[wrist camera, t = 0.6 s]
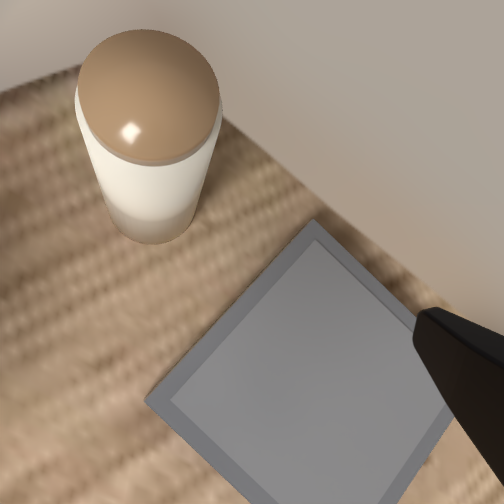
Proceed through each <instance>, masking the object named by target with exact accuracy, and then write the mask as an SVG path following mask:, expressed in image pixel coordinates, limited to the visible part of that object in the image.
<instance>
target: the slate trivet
mask: <svg viewBox="0 0 504 504" xmlns="http://www.w3.org/2000/svg"><path fill="white" fill-rule="evenodd" d="M416 319H417V318H416V317H415V316H414V315H413V314H412V313H411V312H410V311H409V310H408V309H407V308H406V307H405V306H404V305H403V304H402V303H401V302H400V301H399V300H398V299H397V298H396V297H395V296H393V295H392V294H391V293H390V292H389V291H388V290H387V289H386V288H385V287H384V286H383V285H382V284H381V283H380V282H379V281H378V280H377V279H376V278H375V277H374V276H373V275H372V274H371V273H370V272H369V271H367V270H366V269H365V268H364V267H363V266H362V265H361V264H360V263H359V262H358V261H357V260H356V259H355V258H354V257H353V256H352V255H351V254H350V253H349V252H348V251H347V250H346V249H345V248H344V247H343V246H341V245H340V244H339V243H338V242H337V241H336V240H335V239H334V238H333V237H332V236H331V235H330V234H329V233H328V232H327V231H326V230H325V229H324V228H323V227H322V226H321V225H320V224H319V223H318V222H317V221H315V220H314V219H312V220H311V221H309V222H308V223H307V224H306V225H305V226H304V227H303V228H302V229H301V230H300V231H299V232H298V233H297V234H296V236H295V237H294V238H293V239H292V240H291V241H290V242H289V243H288V244H287V245H286V246H285V247H284V248H283V250H282V251H281V252H280V253H279V254H278V255H277V256H276V257H275V258H274V259H273V260H272V261H271V262H270V264H269V265H268V266H267V267H266V268H265V269H264V270H263V271H262V272H261V273H260V274H259V275H258V277H257V278H256V279H255V280H254V281H253V282H252V283H251V284H250V285H249V286H248V287H247V288H246V289H245V291H244V292H243V293H242V294H241V295H240V296H239V297H238V298H237V299H236V300H235V301H234V302H233V303H232V305H231V306H230V307H229V308H228V309H227V310H226V311H225V312H224V313H223V314H222V315H221V316H220V317H219V319H218V320H217V321H216V322H215V323H214V324H213V325H212V326H211V327H210V328H209V329H208V330H207V331H206V333H205V334H204V335H203V336H202V337H201V338H200V339H199V340H198V341H197V342H196V343H195V344H194V345H193V347H192V348H191V349H190V350H189V351H188V352H187V353H186V354H185V355H184V356H183V357H182V358H181V360H180V361H179V362H178V363H177V364H176V365H175V366H174V367H173V368H172V369H171V370H170V371H169V372H168V374H167V375H166V376H165V377H164V378H163V379H162V380H161V381H160V382H159V383H158V384H157V385H156V386H155V388H154V389H153V390H152V391H151V392H150V393H149V394H148V395H147V396H146V397H145V398H144V402H145V403H146V404H147V405H148V406H149V407H150V408H151V409H152V410H153V411H154V412H155V413H156V414H157V415H159V416H160V417H161V418H162V419H163V420H164V421H165V422H166V423H167V424H168V425H169V426H170V427H171V428H172V429H173V430H174V431H175V432H176V433H177V434H178V435H180V436H181V437H182V438H183V439H184V440H185V441H186V442H187V443H188V444H189V445H190V446H191V447H192V448H193V449H194V450H195V451H196V452H197V453H198V454H199V455H201V456H202V457H203V458H204V459H205V460H206V461H207V462H208V463H209V464H210V465H211V466H212V467H213V468H214V469H215V470H216V471H217V472H218V473H219V474H220V475H222V476H223V477H224V478H225V479H226V480H227V481H228V482H229V483H230V484H231V485H232V486H233V487H234V488H235V489H236V490H237V491H238V492H239V493H240V494H241V495H243V496H244V497H245V498H246V499H247V500H248V501H249V502H250V503H251V504H397V503H398V501H399V500H400V498H401V497H402V495H403V494H404V492H405V491H406V489H407V487H408V486H409V484H410V483H411V481H412V480H413V478H414V477H415V475H416V474H417V472H418V471H419V469H420V468H421V466H422V465H423V463H424V462H425V460H426V459H427V457H428V456H429V454H430V453H431V451H432V450H433V448H434V447H435V445H436V444H437V442H438V441H439V439H440V438H441V436H442V435H443V433H444V432H445V430H446V429H447V427H448V426H449V424H450V423H451V421H452V420H453V418H454V417H455V416H454V415H453V413H452V412H451V410H450V409H449V407H448V406H447V404H446V403H445V401H444V399H443V398H442V396H441V394H440V392H439V391H438V389H437V387H436V385H435V384H434V382H433V380H432V378H431V376H430V375H429V373H428V371H427V369H426V368H425V366H424V364H423V362H422V360H421V359H420V357H419V355H418V353H417V352H416V350H415V348H414V345H413V341H412V335H413V331H414V327H415V323H416Z"/></svg>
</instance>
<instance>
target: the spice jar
mask: <svg viewBox="0 0 504 504" xmlns="http://www.w3.org/2000/svg"><path fill="white" fill-rule="evenodd" d="M75 111H76V116H77V120H78V123H79V126H80V129H81V132H82V135H83V138H84V141H85V144H86V147H87V150H88V153H89V156H90V159H91V162H92V165H93V168H94V171H95V174H96V177H97V180H98V183H99V186H100V189H101V192H102V195H103V198H104V200H105V203H106V206H107V209H108V212H109V215H110V218H111V220H112V222H113V224H114V225H115V226H116V228H117V229H118V230H119V231H120V232H121V233H122V234H123V235H125V236H126V237H128V238H129V239H131V240H133V241H136V242H139V243H143V244H152V245H153V244H162V243H166V242H169V241H171V240H173V239H175V238H177V237H178V236H180V235H181V234H182V233H183V232H184V231H185V230H186V229H187V228H188V226H189V225H190V223H191V221H192V219H193V216H194V213H195V210H196V207H197V203H198V200H199V197H200V193H201V190H202V187H203V183H204V180H205V177H206V173H207V170H208V167H209V163H210V160H211V157H212V153H213V150H214V147H215V143H216V140H217V137H218V133H219V130H220V127H221V122H222V101H221V97H220V93H219V87H218V82H217V79H216V76H215V74H214V72H213V70H212V68H211V66H210V65H209V63H208V62H207V60H206V59H205V58H204V57H203V56H202V55H201V53H200V52H198V51H197V50H196V49H195V48H194V47H193V46H191V45H190V44H189V43H187V42H186V41H184V40H182V39H180V38H178V37H176V36H173V35H171V34H168V33H164V32H160V31H155V30H142V29H141V30H131V31H125V32H122V33H119V34H116V35H113V36H111V37H109V38H107V39H106V40H104V41H103V42H101V43H100V44H99V45H97V46H96V47H95V48H94V49H93V50H92V51H91V52H90V54H89V55H88V56H87V58H86V59H85V61H84V63H83V65H82V67H81V70H80V74H79V78H78V85H77V89H76V94H75Z"/></svg>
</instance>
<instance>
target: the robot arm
mask: <svg viewBox="0 0 504 504" xmlns="http://www.w3.org/2000/svg"><path fill="white" fill-rule="evenodd" d="M412 341H413V345H414V348H415V350H416V352H417V353H418V355H419V357H420V359H421V360H422V362H423V364H424V366H425V368H426V369H427V371H428V373H429V375H430V376H431V378H432V380H433V382H434V384H435V385H436V387H437V389H438V391H439V392H440V394H441V396H442V398H443V399H444V401H445V403H446V404H447V406H448V407H449V409H450V410H451V412H452V413H453V415H454V416H455V418H456V419H457V421H458V422H459V424H460V425H461V426H462V428H463V429H464V431H465V432H466V434H467V435H468V436H469V438H470V439H471V441H472V442H473V444H474V445H475V446H476V448H477V449H478V451H479V452H480V454H481V455H482V456H483V458H484V459H485V461H486V462H487V464H488V465H489V466H490V468H491V469H492V471H493V472H494V473H495V475H496V476H497V478H498V479H499V481H500V482H501V483H502V485H503V486H504V336H503V335H500V334H498V333H496V332H494V331H491V330H489V329H487V328H485V327H482V326H480V325H478V324H476V323H473V322H471V321H469V320H466V319H464V318H462V317H460V316H457V315H455V314H453V313H451V312H448V311H446V310H444V309H442V308H439V307H432V308H428V309H424V310H421V311H420V312H419V313H418V315H417V319H416V323H415V327H414V331H413V335H412Z"/></svg>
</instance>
